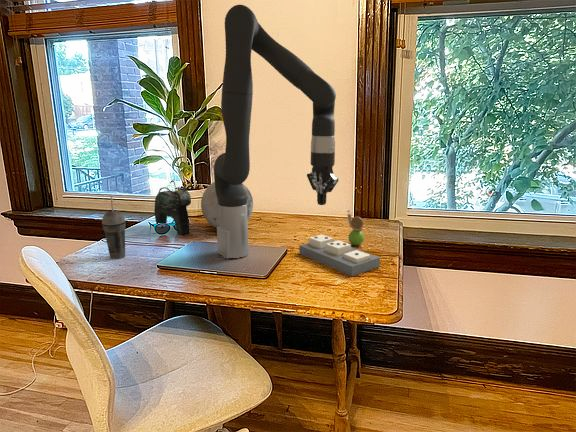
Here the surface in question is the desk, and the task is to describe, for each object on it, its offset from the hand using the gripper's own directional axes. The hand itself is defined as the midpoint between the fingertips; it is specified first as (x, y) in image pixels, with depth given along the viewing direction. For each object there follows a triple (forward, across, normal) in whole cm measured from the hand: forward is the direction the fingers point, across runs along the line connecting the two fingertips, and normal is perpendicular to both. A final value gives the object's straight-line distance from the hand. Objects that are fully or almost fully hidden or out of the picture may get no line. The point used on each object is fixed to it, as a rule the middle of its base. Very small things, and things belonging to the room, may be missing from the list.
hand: (321, 204), depth 141 cm
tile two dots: (+14, 0, 0) cm, 14 cm away
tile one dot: (+15, +16, 0) cm, 22 cm away
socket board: (+17, +8, 0) cm, 18 cm away
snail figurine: (+17, +1, +15) cm, 23 cm away
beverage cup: (+17, -39, -54) cm, 69 cm away
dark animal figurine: (+17, -55, -28) cm, 64 cm away
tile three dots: (+14, +8, 0) cm, 16 cm away
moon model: (+17, -43, -10) cm, 47 cm away
